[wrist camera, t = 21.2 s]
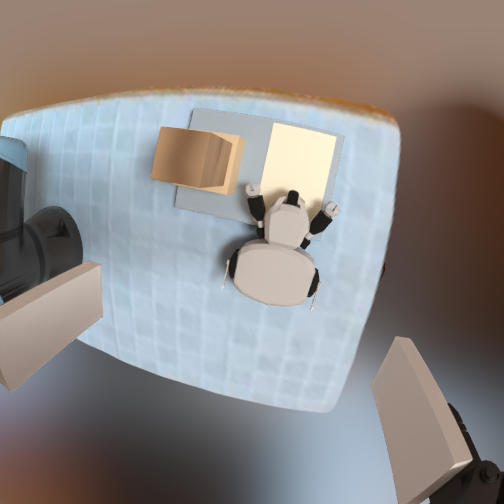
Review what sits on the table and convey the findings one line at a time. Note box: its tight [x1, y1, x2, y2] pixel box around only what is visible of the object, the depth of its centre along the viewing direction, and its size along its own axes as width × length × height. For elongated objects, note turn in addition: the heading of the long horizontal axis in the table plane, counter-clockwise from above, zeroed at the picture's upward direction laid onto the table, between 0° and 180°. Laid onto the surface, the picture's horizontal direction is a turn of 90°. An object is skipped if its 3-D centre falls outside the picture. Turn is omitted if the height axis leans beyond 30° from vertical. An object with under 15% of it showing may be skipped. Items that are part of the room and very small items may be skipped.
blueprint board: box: [173, 108, 345, 241], centre depth 32 cm, size 20×14×5 cm
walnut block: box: [151, 127, 232, 188], centre depth 27 cm, size 5×5×8 cm
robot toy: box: [222, 183, 339, 312], centre depth 34 cm, size 12×4×15 cm
